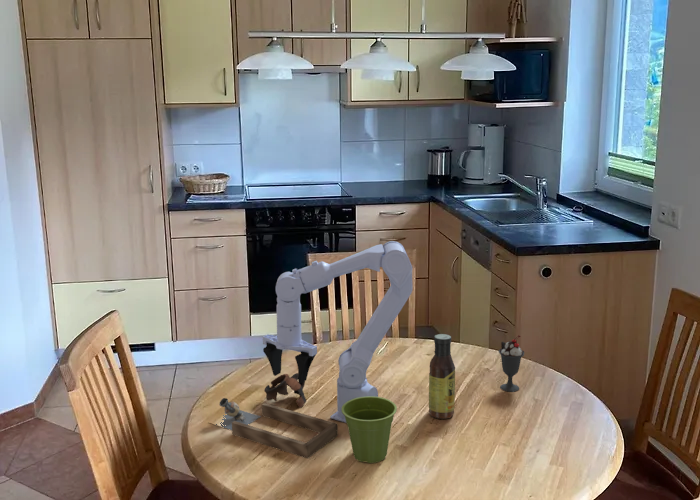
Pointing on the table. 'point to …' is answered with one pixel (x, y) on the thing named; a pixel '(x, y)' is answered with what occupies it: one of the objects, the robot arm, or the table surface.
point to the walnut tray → (285, 443)
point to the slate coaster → (248, 416)
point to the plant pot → (369, 426)
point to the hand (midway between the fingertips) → (289, 377)
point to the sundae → (510, 362)
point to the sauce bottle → (442, 379)
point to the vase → (232, 409)
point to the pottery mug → (282, 388)
